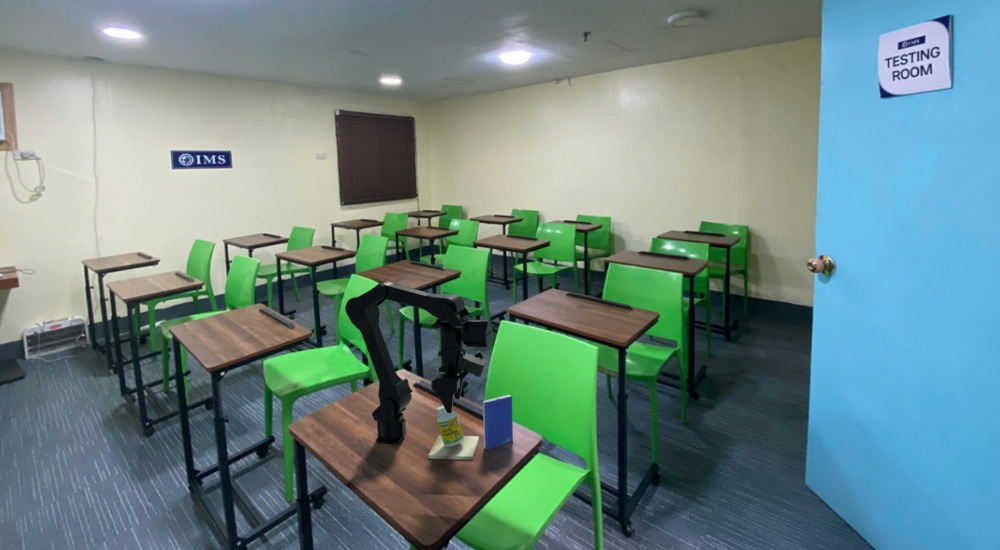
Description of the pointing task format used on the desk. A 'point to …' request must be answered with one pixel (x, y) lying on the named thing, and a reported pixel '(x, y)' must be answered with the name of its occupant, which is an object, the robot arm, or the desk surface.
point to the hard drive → (497, 421)
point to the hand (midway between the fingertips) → (453, 405)
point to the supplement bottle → (449, 427)
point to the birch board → (454, 449)
